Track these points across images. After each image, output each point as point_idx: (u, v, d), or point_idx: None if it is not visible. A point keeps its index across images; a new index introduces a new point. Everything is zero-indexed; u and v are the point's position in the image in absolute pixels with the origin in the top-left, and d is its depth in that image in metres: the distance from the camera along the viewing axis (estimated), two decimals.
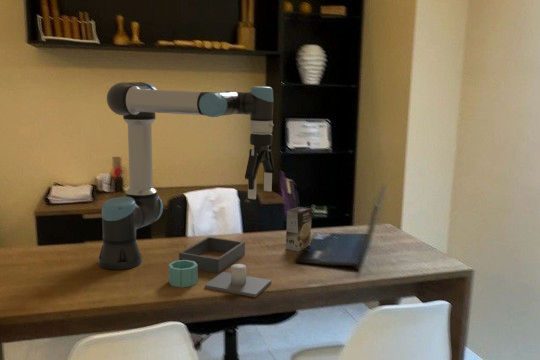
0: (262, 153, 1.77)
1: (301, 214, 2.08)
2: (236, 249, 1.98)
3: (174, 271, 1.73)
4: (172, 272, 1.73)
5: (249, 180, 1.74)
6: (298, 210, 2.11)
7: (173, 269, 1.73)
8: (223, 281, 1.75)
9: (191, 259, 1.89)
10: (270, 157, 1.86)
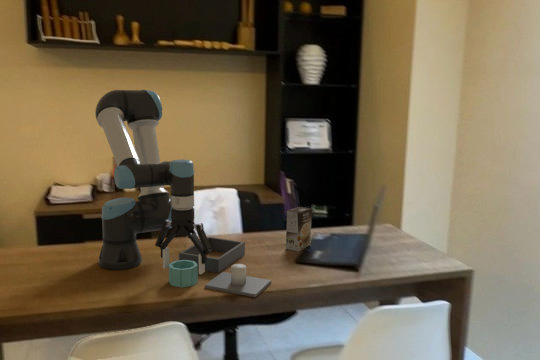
0: None
1: (301, 214, 2.08)
2: (236, 249, 1.98)
3: (174, 271, 1.73)
4: (172, 272, 1.73)
5: None
6: (298, 210, 2.11)
7: (173, 269, 1.73)
8: (223, 281, 1.75)
9: (191, 259, 1.89)
10: (199, 237, 1.71)
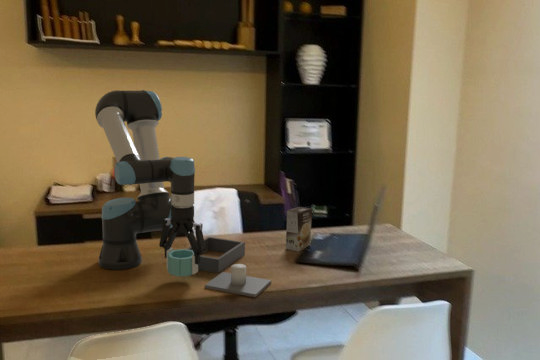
0: None
1: (301, 214, 2.08)
2: (236, 249, 1.98)
3: (173, 260, 1.72)
4: (171, 261, 1.73)
5: None
6: (298, 210, 2.11)
7: (172, 258, 1.72)
8: (223, 281, 1.75)
9: None
10: None
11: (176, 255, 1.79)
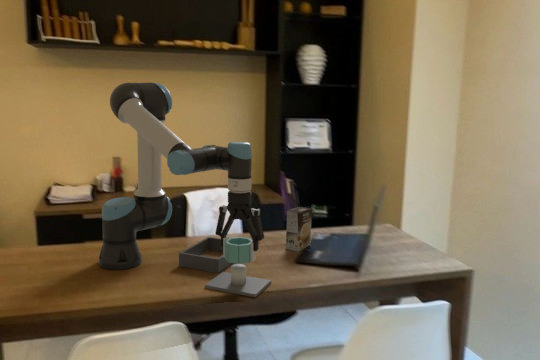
0: None
1: (301, 214, 2.08)
2: None
3: (231, 247, 1.69)
4: (229, 248, 1.69)
5: None
6: (298, 210, 2.11)
7: (230, 245, 1.69)
8: (223, 281, 1.75)
9: (191, 259, 1.89)
10: (255, 223, 1.68)
11: (232, 243, 1.75)
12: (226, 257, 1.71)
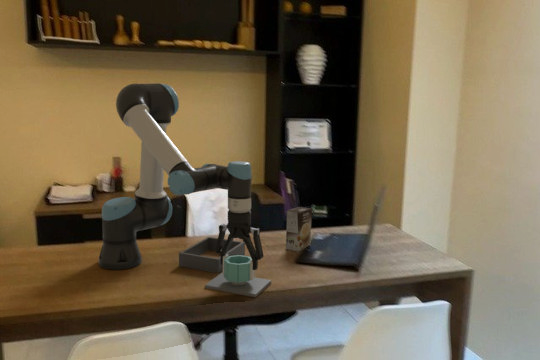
0: None
1: (301, 214, 2.08)
2: (236, 249, 1.98)
3: (231, 266, 1.70)
4: (229, 267, 1.70)
5: None
6: (298, 210, 2.11)
7: (230, 264, 1.70)
8: (223, 281, 1.75)
9: (191, 259, 1.89)
10: None
11: (232, 261, 1.77)
12: (225, 275, 1.73)
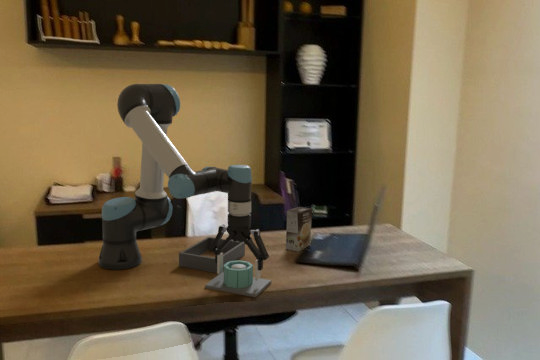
0: (231, 233, 1.71)
1: (301, 214, 2.08)
2: (236, 249, 1.98)
3: (230, 272, 1.70)
4: (228, 273, 1.71)
5: None
6: (298, 210, 2.11)
7: (229, 270, 1.70)
8: (223, 281, 1.75)
9: (191, 259, 1.89)
10: None
11: None
12: (225, 281, 1.73)
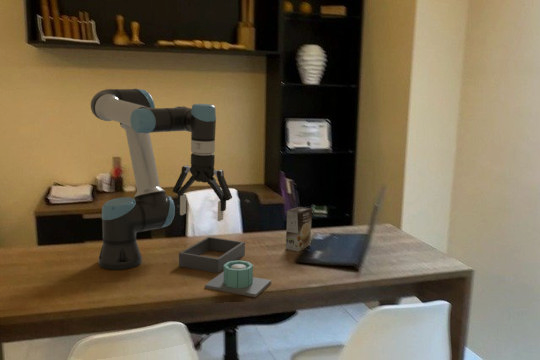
0: (194, 173, 1.70)
1: (301, 214, 2.08)
2: (236, 249, 1.98)
3: (230, 272, 1.70)
4: (228, 273, 1.71)
5: None
6: (298, 210, 2.11)
7: (229, 270, 1.70)
8: (223, 281, 1.75)
9: (191, 259, 1.89)
10: None
11: None
12: (225, 281, 1.73)
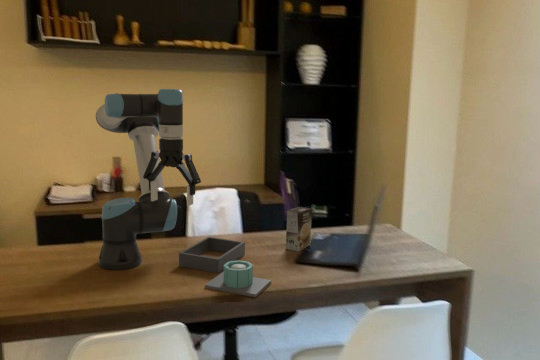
0: None
1: (301, 214, 2.08)
2: (236, 249, 1.98)
3: (230, 272, 1.70)
4: (228, 273, 1.71)
5: None
6: (298, 210, 2.11)
7: (229, 270, 1.70)
8: (223, 281, 1.75)
9: (191, 259, 1.89)
10: (188, 168, 1.68)
11: None
12: (225, 281, 1.73)
